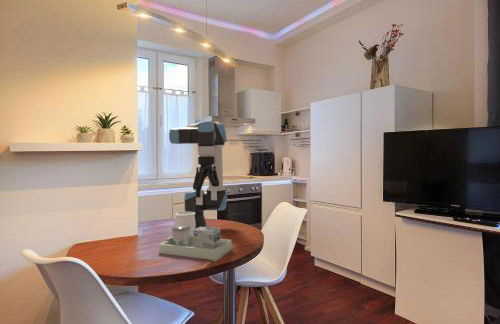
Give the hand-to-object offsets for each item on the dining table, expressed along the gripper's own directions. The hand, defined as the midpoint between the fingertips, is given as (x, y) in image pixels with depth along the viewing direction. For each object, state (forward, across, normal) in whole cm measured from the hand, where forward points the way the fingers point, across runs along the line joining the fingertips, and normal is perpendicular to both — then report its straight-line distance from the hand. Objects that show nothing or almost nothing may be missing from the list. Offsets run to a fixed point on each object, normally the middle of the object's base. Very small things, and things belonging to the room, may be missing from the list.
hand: (207, 202), depth 142 cm
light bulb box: (+22, +3, +1) cm, 23 cm away
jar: (+24, -12, -20) cm, 33 cm away
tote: (+23, +2, -5) cm, 24 cm away
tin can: (+22, +2, -13) cm, 26 cm away
